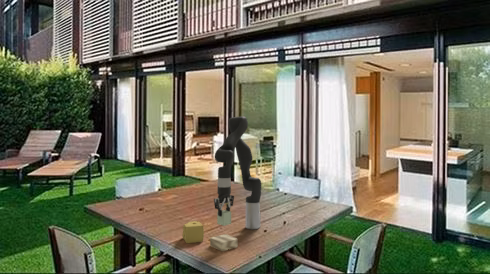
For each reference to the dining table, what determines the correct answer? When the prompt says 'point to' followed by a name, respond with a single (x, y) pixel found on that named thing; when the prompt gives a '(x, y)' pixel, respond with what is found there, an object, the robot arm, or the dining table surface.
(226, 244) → the birch box
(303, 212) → the dining table surface
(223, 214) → the block
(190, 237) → the cheese
